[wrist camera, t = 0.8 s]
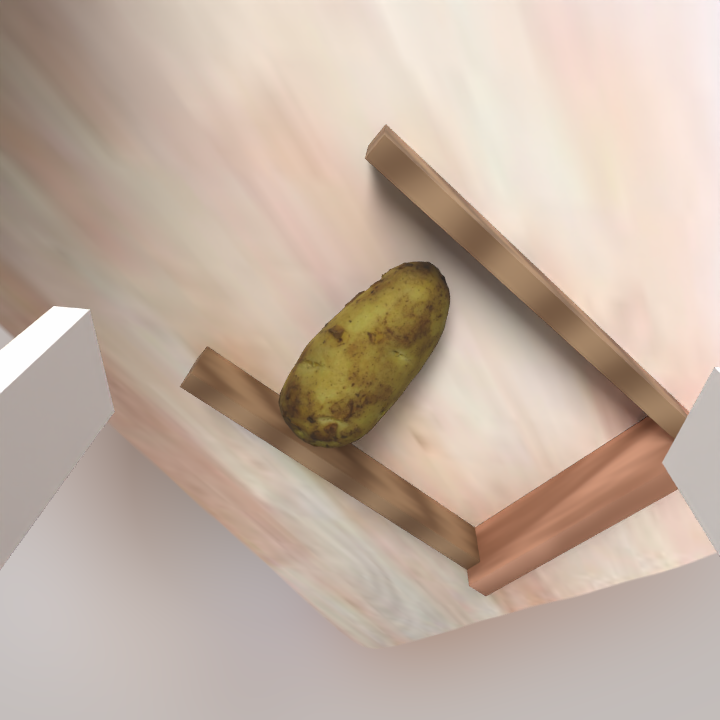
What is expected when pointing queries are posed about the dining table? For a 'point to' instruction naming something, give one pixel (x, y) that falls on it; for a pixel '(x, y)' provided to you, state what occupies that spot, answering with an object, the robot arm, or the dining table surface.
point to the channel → (539, 507)
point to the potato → (366, 356)
